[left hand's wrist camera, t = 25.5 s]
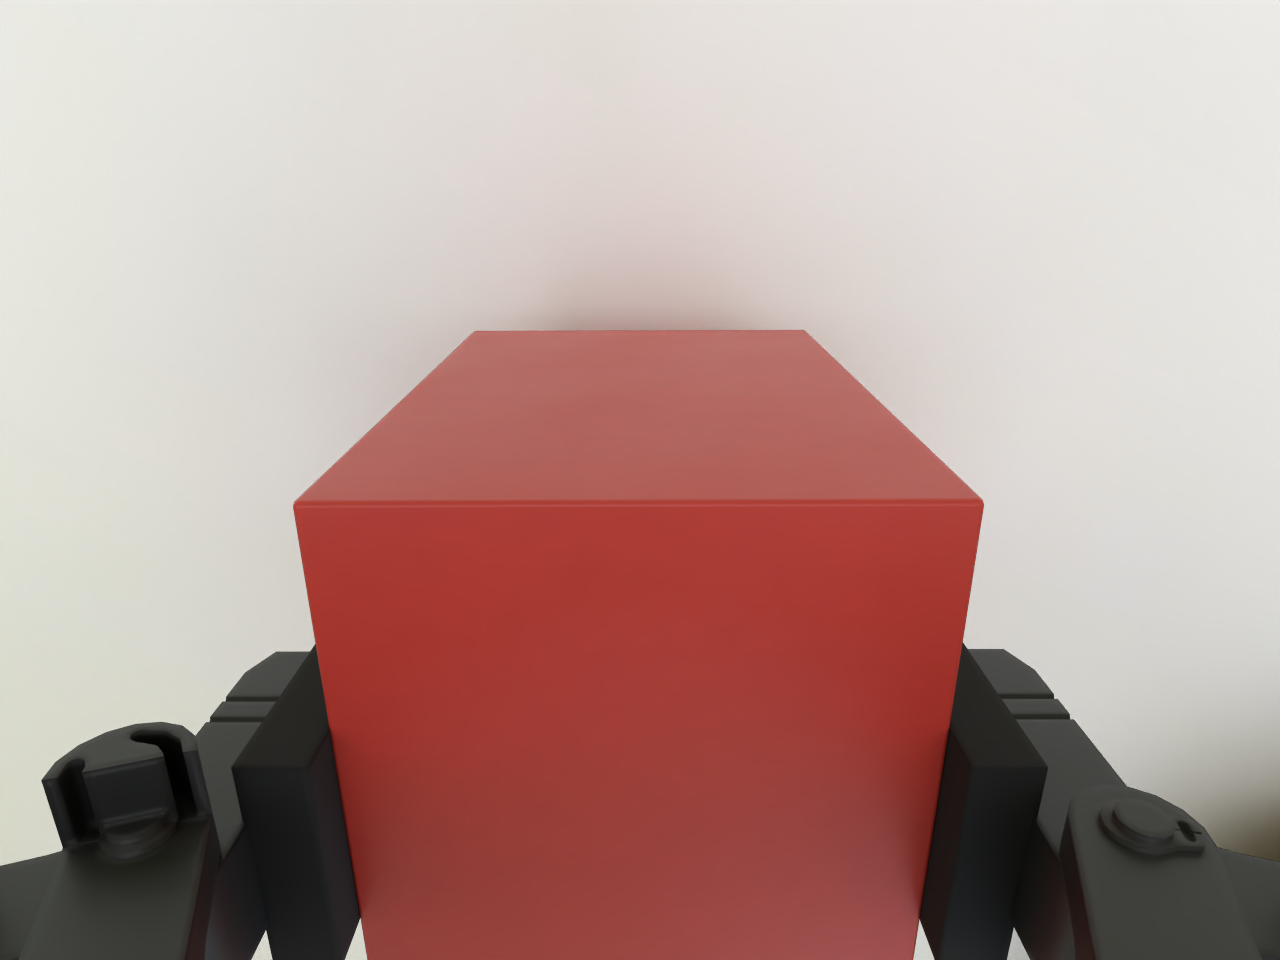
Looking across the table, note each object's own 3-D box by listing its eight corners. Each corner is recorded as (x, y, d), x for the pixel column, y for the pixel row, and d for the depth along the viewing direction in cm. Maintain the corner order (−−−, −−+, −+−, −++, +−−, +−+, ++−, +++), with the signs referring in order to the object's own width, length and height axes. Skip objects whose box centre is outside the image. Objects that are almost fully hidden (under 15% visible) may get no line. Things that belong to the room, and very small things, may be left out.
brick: (783, 659, 19) (899, 1057, 10) (497, 660, 19) (381, 1057, 10) (805, 329, 16) (987, 500, 8) (473, 330, 16) (289, 502, 8)
